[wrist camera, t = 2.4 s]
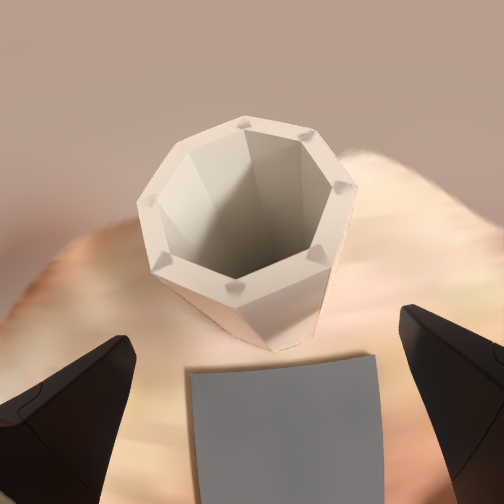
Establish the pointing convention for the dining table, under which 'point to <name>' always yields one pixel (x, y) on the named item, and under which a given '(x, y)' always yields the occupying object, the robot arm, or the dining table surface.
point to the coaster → (290, 434)
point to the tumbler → (250, 227)
